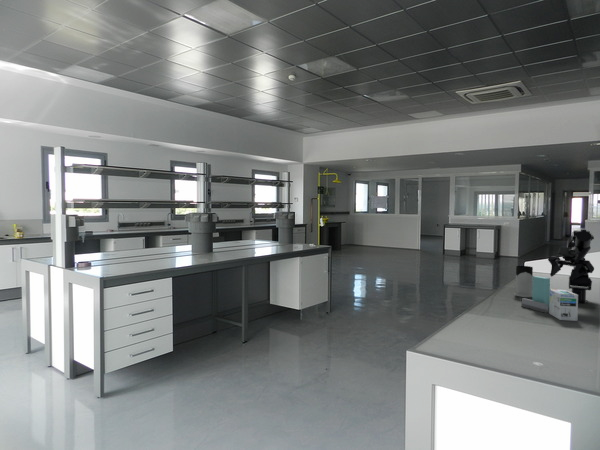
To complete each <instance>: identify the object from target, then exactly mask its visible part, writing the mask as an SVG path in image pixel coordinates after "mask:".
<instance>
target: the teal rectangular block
mask: <svg viewBox="0 0 600 450" xmlns="http://www.w3.org/2000/svg"><path fill="white" fill-rule="evenodd" d="M550 286H551V278H549V277H544V276H541V275H535V276H533V290H532V297H531V298H532V299H531V300H534V301H538V302H542V303H546V304H548V307H549V300H550V289H551V288H550Z"/></svg>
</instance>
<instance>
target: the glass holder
mask: <svg viewBox="0 0 600 450" xmlns="http://www.w3.org/2000/svg"><path fill="white" fill-rule="evenodd" d="M533 271H534V270H533V266H528V265H516V266H515V279H514V280H515V285H514V287H515V288H514V289H515V290H514V294H513V295H514V296H516V297H521V298H522V297H523V298H532V293H533Z"/></svg>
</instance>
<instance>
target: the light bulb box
mask: <svg viewBox="0 0 600 450" xmlns="http://www.w3.org/2000/svg"><path fill="white" fill-rule="evenodd" d="M549 300H550V304H549V312H548V314H549V315H551V316H553V317H555V318H556V319H558V320H560V321H571V322H572V321H573V322H577V321H578V318H579V317H578V316H579V315H578V310H579V302H578V295H577V294H574V293H572V291H569V290H567V289H556V288H555V289H554V288H550V296H549Z"/></svg>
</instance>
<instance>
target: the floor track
mask: <svg viewBox="0 0 600 450" xmlns="http://www.w3.org/2000/svg"><path fill="white" fill-rule="evenodd" d="M549 304H550V299H549ZM521 307H522V308H526V309H529V308H530V309H531V310H533V311H537V312H542V313H544V314H546V313H547V312H548V313H549V307H548V304H546V303H542V302H538V301H534V300H532V299H530V298H529V299H528V298H527V297H523V298H522V297H521Z"/></svg>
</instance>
